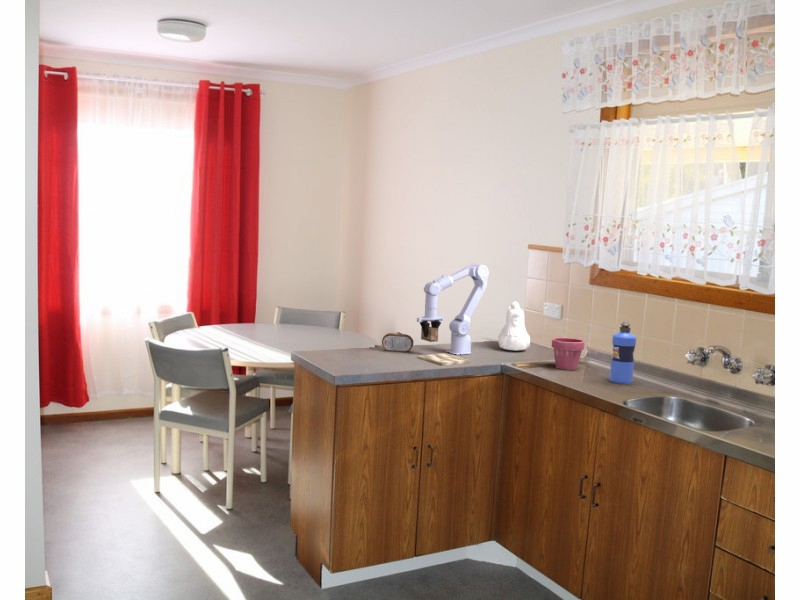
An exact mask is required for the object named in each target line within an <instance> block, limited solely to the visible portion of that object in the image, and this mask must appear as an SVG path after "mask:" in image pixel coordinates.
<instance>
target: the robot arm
mask: <svg viewBox="0 0 800 600" xmlns="http://www.w3.org/2000/svg"><path fill="white" fill-rule="evenodd" d="M489 275H490V272H489V269H488V266H486V265H484V264H476V263H471V264H469V265H466V266H465V267H464V268H462V269H459V270H458V271H456V272H454V273H452V274H450V275H448V274H442V275H441V277H439V278H437V279H433V280H432V282H431V281H429V282H427V283H426V284H425V285H424V287H423V291H424V293H425V298H424V299H425V302H424V303H425V304H424V316H421V317H419V316H418V317H416V322H417V323H419V325H420V327H422V330H423V334H424V337H428V329H429V327H433V328H437V329H438V330H439V327H440V326H441V324H442V322H444V321H445V317H444V316H442V315H440V316H438V300H439V299H438V297H439V295H440V293H441V292H442V291H444V290H446V289H447V288H450V287H452V286H453V283H455V282H457V281H458V280H461V279H464V278H466V277H470V278H471V279H472V281H473V283H474V286H473V288H472V290H471V292H470V293H469V295H468V297H467V300H466V301H465V303H464V305H463V306H462V308H461V311H460V312H459V313H458V314H457V315H456V316H455V317H454V319H452V320H451V321H450V323H449V325H448V326H449V331H450V332H451V333H450V334H451V335H450V349H449V350H446V351H445V352H446V353H448V352H449V353H448V354H451V355H455V354H456V355H455V356H459V355H460V354H461V355H471V354H472V352H471V349H472V339H471V336H470V335H469V331H470V326H471V324H472V323H471V322H472V321H471V317H472V315H473V314H474V312H475V310H476V308H477V306H478V304H479V302H480V301H481V299H482V297H483V295H484V293H485V291H486V289H487V287H488V278H489ZM441 321H442V322H441ZM429 322H430V323H429Z"/></svg>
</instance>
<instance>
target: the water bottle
mask: <svg viewBox="0 0 800 600" xmlns="http://www.w3.org/2000/svg"><path fill="white" fill-rule="evenodd" d="M630 326H631V324H630V322H628V321H623V322H622V323H620V326H619V332H618V333H615V334H612V340H611V342H612V355H611V359H610V370H609V382H611V383H616V384H620V385H630V384H633V377H634V366H635V365H634V363H635V362H634V361H635V358H634V353H635V348H636V345H637V336H635V335H633V334H632V333H631V329H632V327H630Z"/></svg>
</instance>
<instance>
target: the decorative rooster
mask: <svg viewBox="0 0 800 600" xmlns="http://www.w3.org/2000/svg"><path fill="white" fill-rule="evenodd" d="M506 311H507V312H506V316H505V317H506V320H505V324H504V326H503V327H502V329H501V330H500V332H499V335H498V337H497V338H498V345H499V348H501V349H503V350H506V351H516V352H517V351H524V350H526V349H528V348H529V347H530V345H531V344H530V343H531V336H530V335H529V333H528V332H527V329H526V326H525V324H526V323H525V312H524V310H523V309H522V308H520V303H519V302H517V301H516V300H515V301H513V302H511V305H509V306H508V307H507V310H506Z"/></svg>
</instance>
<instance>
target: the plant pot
mask: <svg viewBox="0 0 800 600" xmlns="http://www.w3.org/2000/svg"><path fill="white" fill-rule="evenodd" d="M551 348H552V349H553V355H554V362H555V367H556V369H561V370H568V371H572V370H577V368H578V366H579V362H580V359H581V356H582V355H581V354H582V351H584V349H585V341H584V340H583V339H579V338H572V337H553V338H552V339H551Z"/></svg>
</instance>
